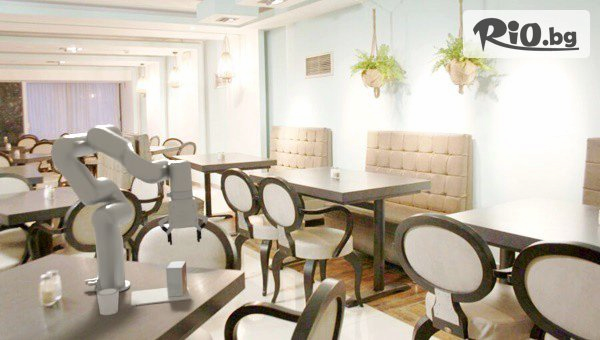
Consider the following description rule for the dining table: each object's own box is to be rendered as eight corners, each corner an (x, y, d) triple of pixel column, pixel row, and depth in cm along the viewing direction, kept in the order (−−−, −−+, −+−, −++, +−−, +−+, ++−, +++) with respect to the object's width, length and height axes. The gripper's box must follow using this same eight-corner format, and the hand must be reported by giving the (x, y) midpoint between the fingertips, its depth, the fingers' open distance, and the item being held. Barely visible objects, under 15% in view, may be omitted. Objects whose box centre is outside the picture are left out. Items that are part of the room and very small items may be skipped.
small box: (183, 296, 185) (181, 267, 183) (167, 296, 185) (165, 268, 183) (187, 288, 193) (186, 260, 191) (172, 288, 192) (171, 261, 191)
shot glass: (107, 317, 169) (105, 296, 168) (93, 313, 172) (92, 292, 171) (124, 310, 175) (123, 290, 174) (110, 306, 178) (109, 286, 177)
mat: (131, 306, 178) (131, 304, 178) (131, 292, 190) (131, 291, 190) (191, 299, 184) (191, 297, 183) (187, 286, 196) (187, 285, 196)
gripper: (156, 199, 179) (160, 248, 181) (207, 195, 183) (210, 242, 185) (156, 195, 186) (159, 242, 188) (205, 191, 190) (208, 237, 193)
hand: (184, 242), depth 187 cm, fingers open, 9 cm apart
